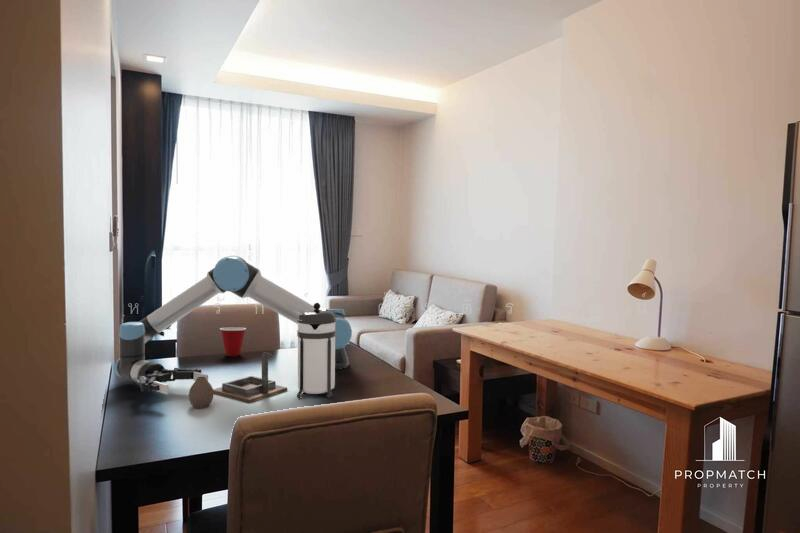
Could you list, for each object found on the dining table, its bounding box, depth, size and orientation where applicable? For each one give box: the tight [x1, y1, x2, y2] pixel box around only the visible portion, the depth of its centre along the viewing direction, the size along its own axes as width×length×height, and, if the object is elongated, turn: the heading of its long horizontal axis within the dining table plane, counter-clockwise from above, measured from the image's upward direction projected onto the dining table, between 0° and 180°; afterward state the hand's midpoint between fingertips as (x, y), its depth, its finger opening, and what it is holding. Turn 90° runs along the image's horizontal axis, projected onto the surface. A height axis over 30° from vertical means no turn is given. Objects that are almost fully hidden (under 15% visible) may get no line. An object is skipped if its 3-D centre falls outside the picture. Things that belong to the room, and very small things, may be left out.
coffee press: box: [296, 302, 337, 400], centre depth 168 cm, size 17×16×30 cm
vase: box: [188, 377, 214, 409], centre depth 153 cm, size 7×7×9 cm
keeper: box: [213, 351, 288, 404], centre depth 168 cm, size 16×18×14 cm
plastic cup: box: [219, 326, 247, 357], centre depth 221 cm, size 11×11×12 cm
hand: (188, 384), depth 156 cm, fingers open, 13 cm apart
